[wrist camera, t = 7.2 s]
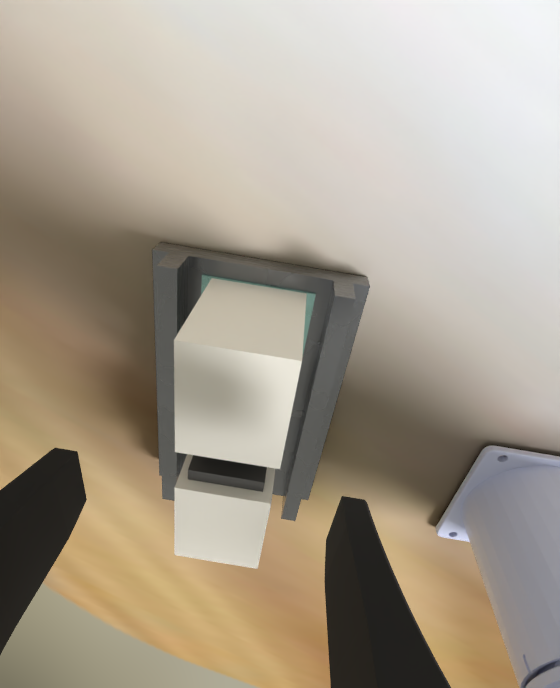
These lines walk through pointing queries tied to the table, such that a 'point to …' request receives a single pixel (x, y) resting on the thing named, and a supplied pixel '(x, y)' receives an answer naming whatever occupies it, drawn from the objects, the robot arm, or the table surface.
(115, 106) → the table surface
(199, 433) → the white cardboard box
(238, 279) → the sliding window
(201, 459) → the white and grey block
